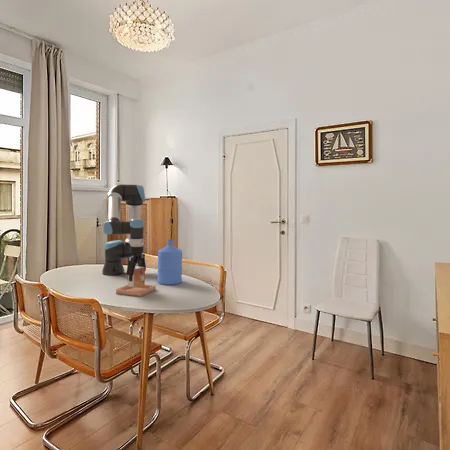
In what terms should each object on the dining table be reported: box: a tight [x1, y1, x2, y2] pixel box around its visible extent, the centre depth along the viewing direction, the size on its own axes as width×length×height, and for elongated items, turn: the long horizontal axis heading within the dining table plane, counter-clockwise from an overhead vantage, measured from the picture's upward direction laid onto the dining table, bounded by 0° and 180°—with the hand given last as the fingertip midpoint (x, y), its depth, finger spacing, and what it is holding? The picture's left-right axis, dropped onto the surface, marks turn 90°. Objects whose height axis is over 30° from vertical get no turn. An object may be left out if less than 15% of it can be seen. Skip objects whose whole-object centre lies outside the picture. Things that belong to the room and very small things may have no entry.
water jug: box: [157, 238, 183, 286], centre depth 213 cm, size 16×16×28 cm
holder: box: [115, 283, 157, 298], centre depth 190 cm, size 16×16×2 cm
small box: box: [127, 265, 146, 287], centre depth 189 cm, size 8×6×10 cm
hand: (136, 284), depth 189 cm, fingers closed on small box, 9 cm apart
